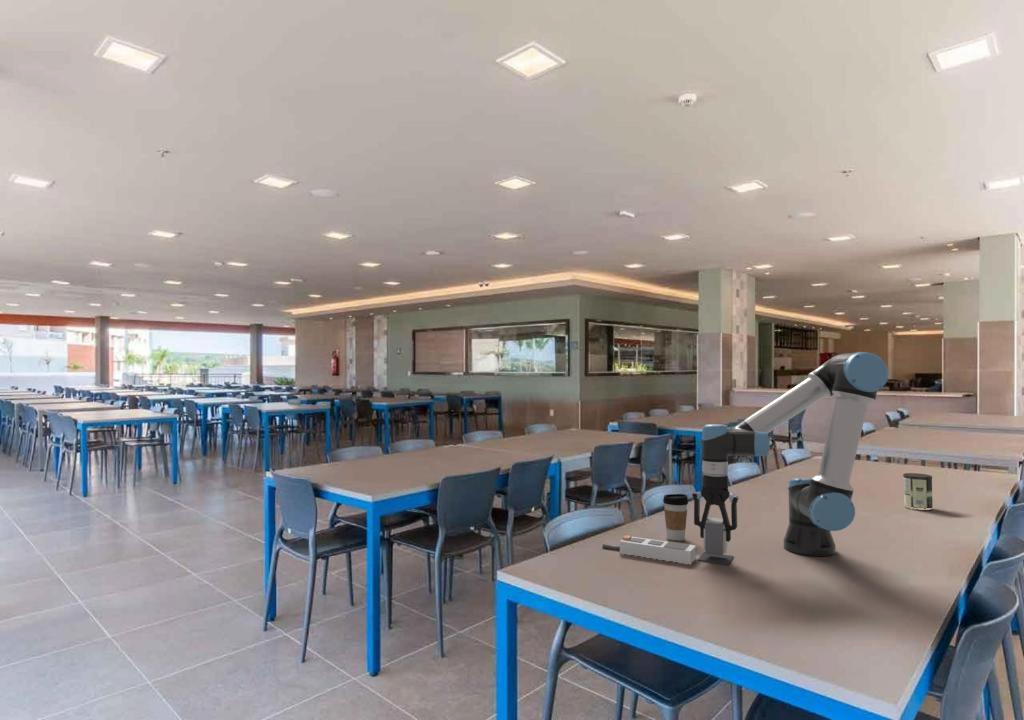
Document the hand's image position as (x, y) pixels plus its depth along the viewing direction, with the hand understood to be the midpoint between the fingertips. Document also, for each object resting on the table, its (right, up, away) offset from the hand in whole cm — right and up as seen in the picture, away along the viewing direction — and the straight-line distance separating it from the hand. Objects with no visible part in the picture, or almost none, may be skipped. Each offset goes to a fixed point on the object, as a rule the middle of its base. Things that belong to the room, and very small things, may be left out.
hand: (715, 550), depth 182 cm
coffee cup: (-6, -4, +23) cm, 24 cm away
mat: (0, -3, 0) cm, 3 cm away
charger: (0, -1, 0) cm, 1 cm away
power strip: (-20, -3, +5) cm, 21 cm away
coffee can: (+110, -5, +69) cm, 130 cm away
